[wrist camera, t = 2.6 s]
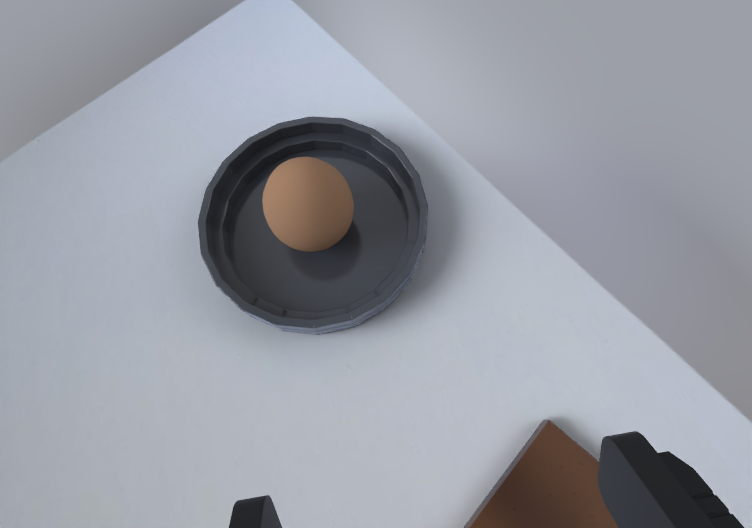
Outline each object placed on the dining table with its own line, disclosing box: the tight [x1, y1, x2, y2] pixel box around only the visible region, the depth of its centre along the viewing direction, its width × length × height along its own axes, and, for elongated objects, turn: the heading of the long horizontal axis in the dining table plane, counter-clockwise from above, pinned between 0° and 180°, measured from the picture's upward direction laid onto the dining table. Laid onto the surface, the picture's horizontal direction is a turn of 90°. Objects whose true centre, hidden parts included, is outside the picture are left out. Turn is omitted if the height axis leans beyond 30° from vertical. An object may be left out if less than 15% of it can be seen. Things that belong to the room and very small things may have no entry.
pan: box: [198, 117, 428, 334], centre depth 35 cm, size 17×17×3 cm
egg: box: [262, 157, 354, 252], centre depth 32 cm, size 6×6×8 cm
